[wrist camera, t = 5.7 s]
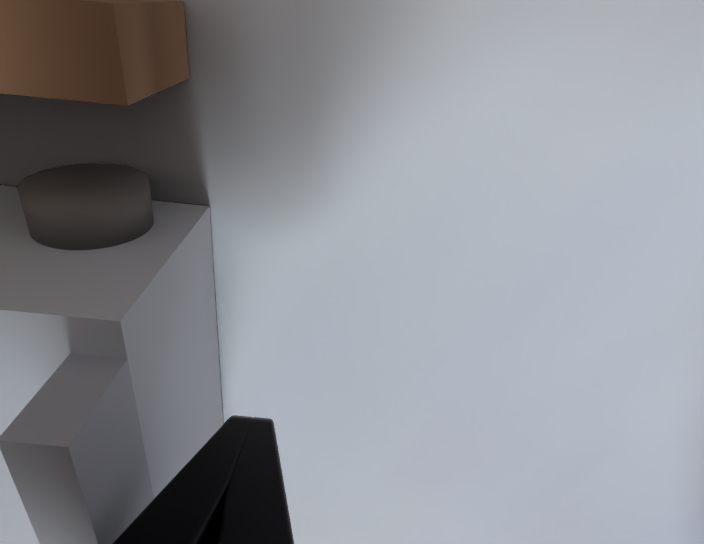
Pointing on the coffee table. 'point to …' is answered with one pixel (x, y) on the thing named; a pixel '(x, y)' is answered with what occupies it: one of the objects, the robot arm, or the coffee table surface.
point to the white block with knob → (100, 351)
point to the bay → (92, 49)
